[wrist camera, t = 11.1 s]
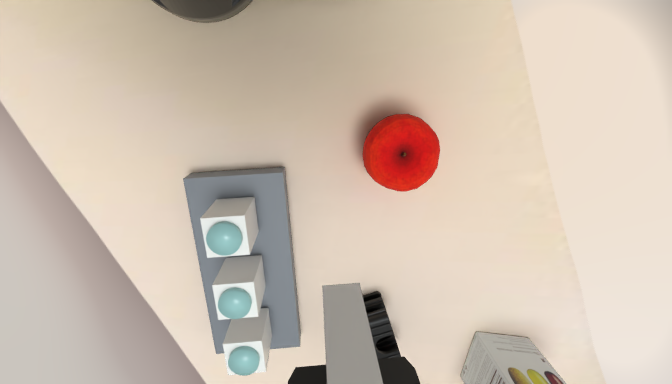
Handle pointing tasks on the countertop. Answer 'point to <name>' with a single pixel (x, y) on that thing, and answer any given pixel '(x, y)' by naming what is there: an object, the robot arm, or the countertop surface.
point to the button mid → (239, 287)
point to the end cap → (380, 327)
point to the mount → (268, 243)
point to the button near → (230, 227)
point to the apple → (401, 152)
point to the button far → (248, 344)
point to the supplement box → (506, 362)
